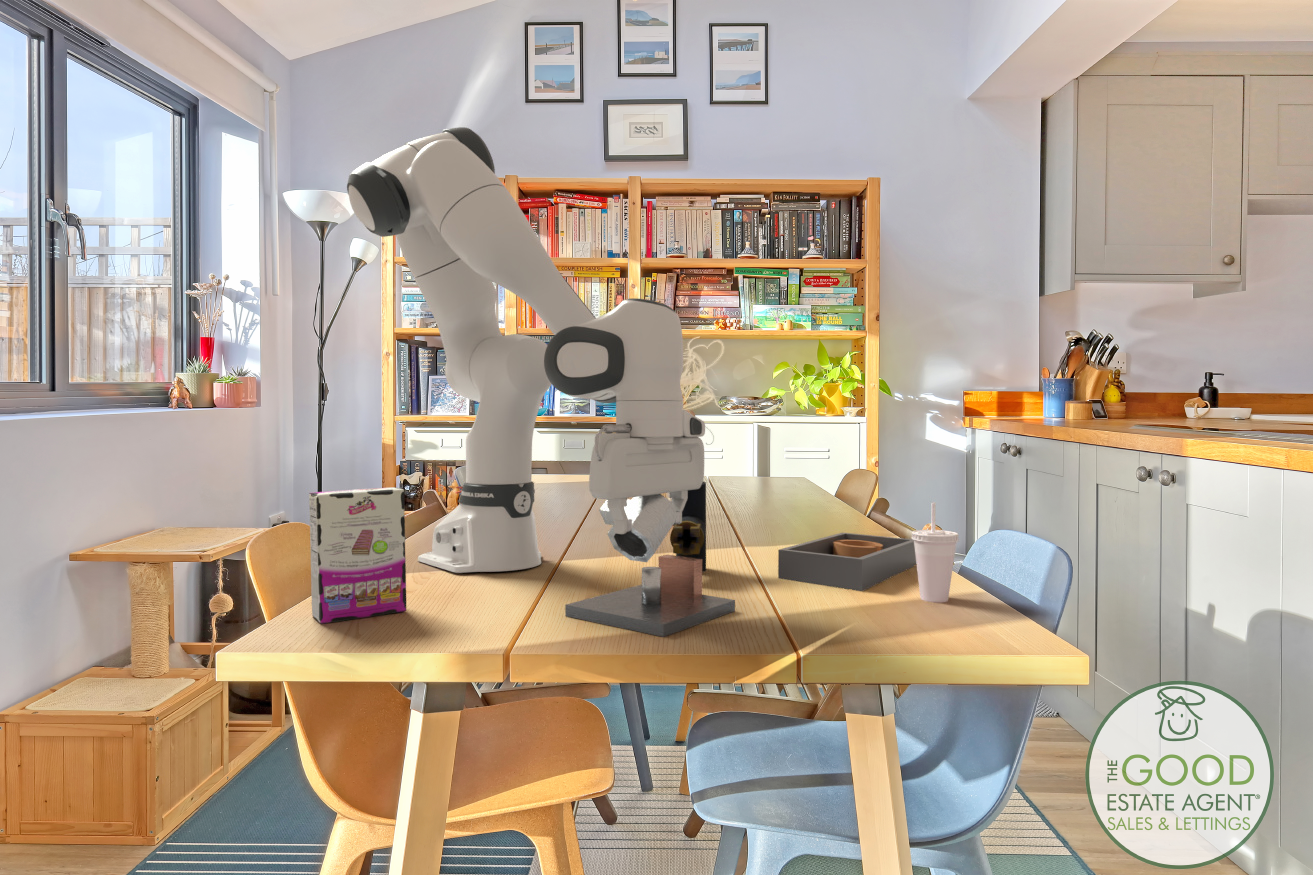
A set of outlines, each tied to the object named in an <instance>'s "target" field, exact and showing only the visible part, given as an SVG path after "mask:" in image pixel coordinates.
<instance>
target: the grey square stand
mask: <svg viewBox="0 0 1313 875" xmlns="http://www.w3.org/2000/svg"><path fill="white" fill-rule="evenodd" d="M564 608H565V612H564V613H565V617H566V618H567V617H568V618H573V619H578V620H582V621H587V622H591V623H596V624H601V625H605V626H610V627H615V628H620V629H623V630H624V629H625V630H630V631H633V632H638V633H644V634H648V635H654V636H658V637H662V638H665V637H667V636H669V635H673V634H675V633H678V632H681V631H684V630H686V629H689V628H692V627H695V626H697V625H700V624H703V623H706V622H709V621H711V620H714V619H717V618H719V617H722V616H725V615H728V614H732V613H733V612H735V611H736V599H733V598H732V599H731V598H725V597H719V596H713V595H708V594H703V572H702V559H697V558H689V557H682V556H676V555H675V554H674V555H673V554H664V555H659V556H658V566H644V567H641V584H639V585H638V584H637V585H635V586H632V587H628V588H623V589H619V590H616V591H612V592H608V593H604V594H601V595H597V596H594V597H589V598H585V599H581V600H578V601H574V602H570V603H566V604H565V607H564Z"/></svg>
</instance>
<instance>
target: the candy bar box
mask: <svg viewBox="0 0 1313 875" xmlns="http://www.w3.org/2000/svg"><path fill="white" fill-rule="evenodd" d="M308 494H309V495H308V498H309V500H308V504H309V535H310V538H309V540H310V541H309V543H310V545H309V546H310V580H311V582H310V583H311V585H310V586H311V590H310V591H311V615H312V617H313V619H315V620H316V621H317V622H318V623H319V624H329V623H336V622H343V621H351V620H358V619H361V618H362V619H363V618H370V617H376V616H377V617H378V616H383V615H390V614H396V613H397V614H398V613H402V612H405V611H407V573H406V572H407V570H406V568H407V567H406V566H407V565H406V561H407V560H406V557H407V556H406V521H405V519H406V518H405V517H406V516H405V490H404V489H402V488H398V487H396V486H393V487H376V488H361V489H359V488H358V489H344V490H343V489H342V490H331V491H328V490H327V491H317V492H309V493H308Z"/></svg>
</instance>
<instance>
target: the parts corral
mask: <svg viewBox="0 0 1313 875" xmlns="http://www.w3.org/2000/svg"><path fill="white" fill-rule="evenodd" d="M836 540H863V541H871V542H876V543H880V544H882V545H883V550H880V551H877V552H874V553H871V554H868V555H865V556H862V557H860V558H856V557H847V556H839V555H833V542H834V541H835V542H836ZM777 552H778V557H777V558H778V560H777V561H778V566H777V568H778V569H777V574H778V576H777V578H778V580H779V579H780V580H786V581H793V582H800V583H806V584H811V585H818V586H825V587H831V588H837V587H838V588H837V589H843V588H844V589H845V590H849V589H852V590H851V591H857V592H864V591H866V590H868V589H870V588H873V587H874V586H877V585H878V584H881V583H883V582H885V581H887V580H889V579H891V578H893V577H895V576H897V575H899V574H902V573H903V572H905V571H907V570H909V569H911V568H913V567H915V566H914V565H916V555H915V546H914V540H913V539H912V538H903V537H893V536H892V537H891V536H883V535H881V536H880V535H874V534H873V535H872V534H861V533H850V532H840V533H836V534H832V535H828V536H825V537H820V538H818V539H814V540H810V541H805V542H802V543H798V544H794V545H791V546H787V547H784V548H780V549H778V551H777ZM916 566H917V565H916ZM906 569H907V570H906ZM898 573H899V574H898ZM894 575H895V576H894ZM892 576H893V577H892ZM890 577H891V578H890ZM844 589H843V590H844Z"/></svg>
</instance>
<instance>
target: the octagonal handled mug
mask: <svg viewBox="0 0 1313 875" xmlns="http://www.w3.org/2000/svg"><path fill="white" fill-rule="evenodd" d="M671 501H672V500H671V499H669V498H667V497H665V495H664V494H654V495H646V496H638V497H631V499H628V498H627V507H624V509H625V512H626V515H627V518H628V519H632V526H631V527H632V531H631V532H630V533H626V534H616V533H615V532H614V519H613V517H612V515H611V513H610V511H609V509H608V507H607V499H605V502H604V503H603V504H602V506H601V507H600V509H599V510H598V512H599V514H600V515H601V517H602V520H603V522H604V524H605V525H609V526H611V528H610V529H609V530H608V532H607V533H606V534H607V537H608V539H609V540H610V542H611V544H612V547H613V549H614V550H615V551H617V552H618V553H620V554H621V555H623V556H624V557H625V558H627V559H628V560H630V561H633V562H635V561H636V562H642V563H648V561H649V560H650V559H651V558H652V557H653V556H654V555H655V554H656V552H657V550H658V549H659V548H660V546H661V545H662V543H663V541H664V540H665V538H666V536H668V533H669V532H670V531H671V528H673V527H674V525H673V524H674V523H675V521H676V520H677V518H678V516H677V513H676V511H675V508H674V506H673V503H672V502H671Z"/></svg>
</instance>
